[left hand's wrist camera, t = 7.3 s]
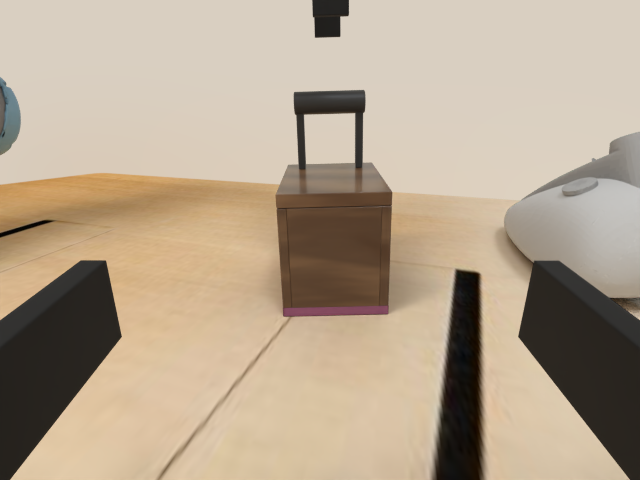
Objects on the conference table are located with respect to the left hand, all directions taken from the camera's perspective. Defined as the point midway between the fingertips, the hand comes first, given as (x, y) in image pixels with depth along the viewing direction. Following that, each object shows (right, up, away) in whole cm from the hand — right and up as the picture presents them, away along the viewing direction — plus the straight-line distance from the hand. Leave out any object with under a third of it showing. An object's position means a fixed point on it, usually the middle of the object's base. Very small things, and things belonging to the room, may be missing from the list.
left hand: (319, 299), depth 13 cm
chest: (+1, -2, +29) cm, 29 cm away
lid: (+1, +7, +26) cm, 27 cm away
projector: (+29, -1, +32) cm, 43 cm away
